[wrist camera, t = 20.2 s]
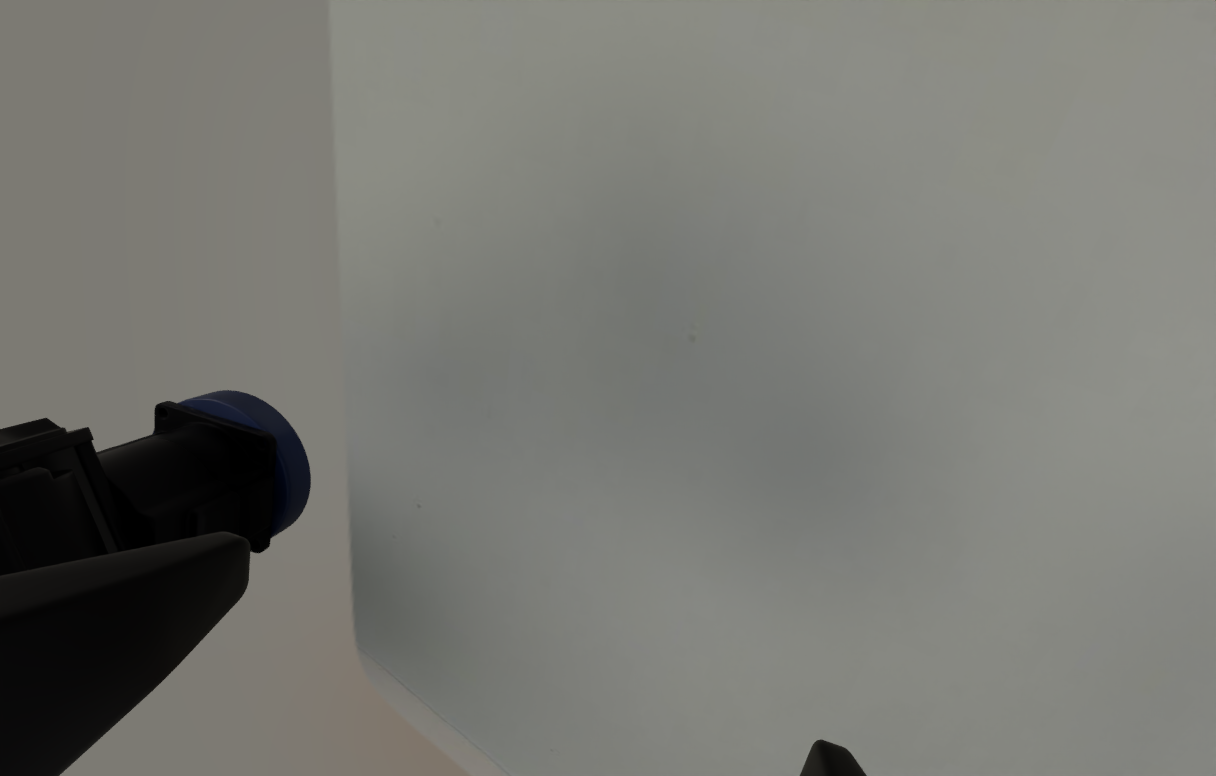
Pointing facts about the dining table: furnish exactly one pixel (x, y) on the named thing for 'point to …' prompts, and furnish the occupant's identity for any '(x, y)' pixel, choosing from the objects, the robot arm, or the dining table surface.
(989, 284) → the dining table surface
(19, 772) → the robot arm
